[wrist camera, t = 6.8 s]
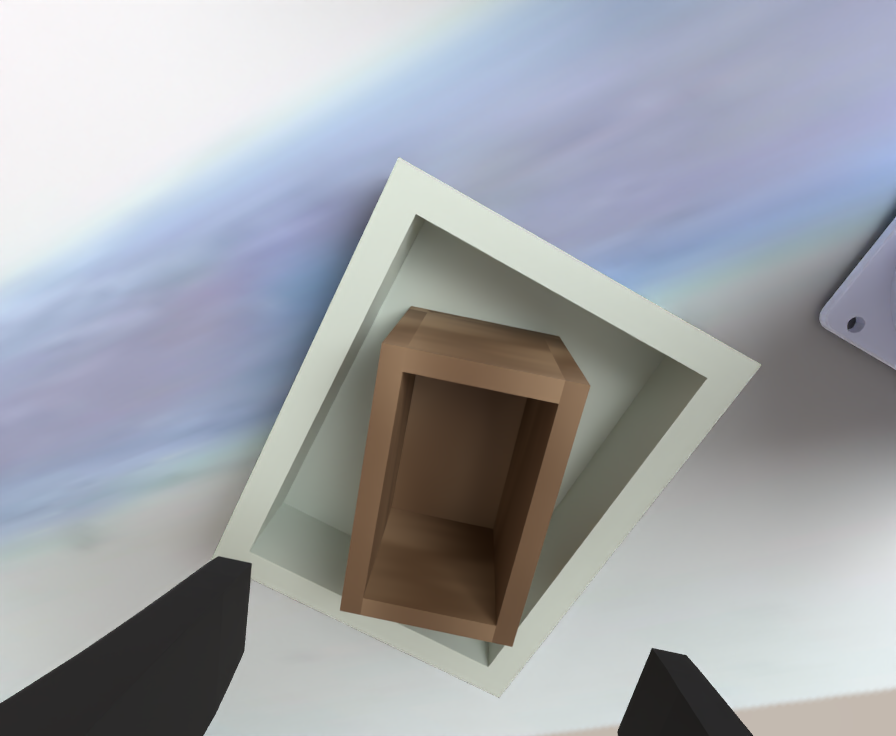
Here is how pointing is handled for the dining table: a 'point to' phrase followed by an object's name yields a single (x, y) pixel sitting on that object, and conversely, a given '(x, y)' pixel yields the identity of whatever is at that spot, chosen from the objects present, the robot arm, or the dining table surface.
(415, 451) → the small crate
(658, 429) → the white shallow tray
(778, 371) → the dining table surface
